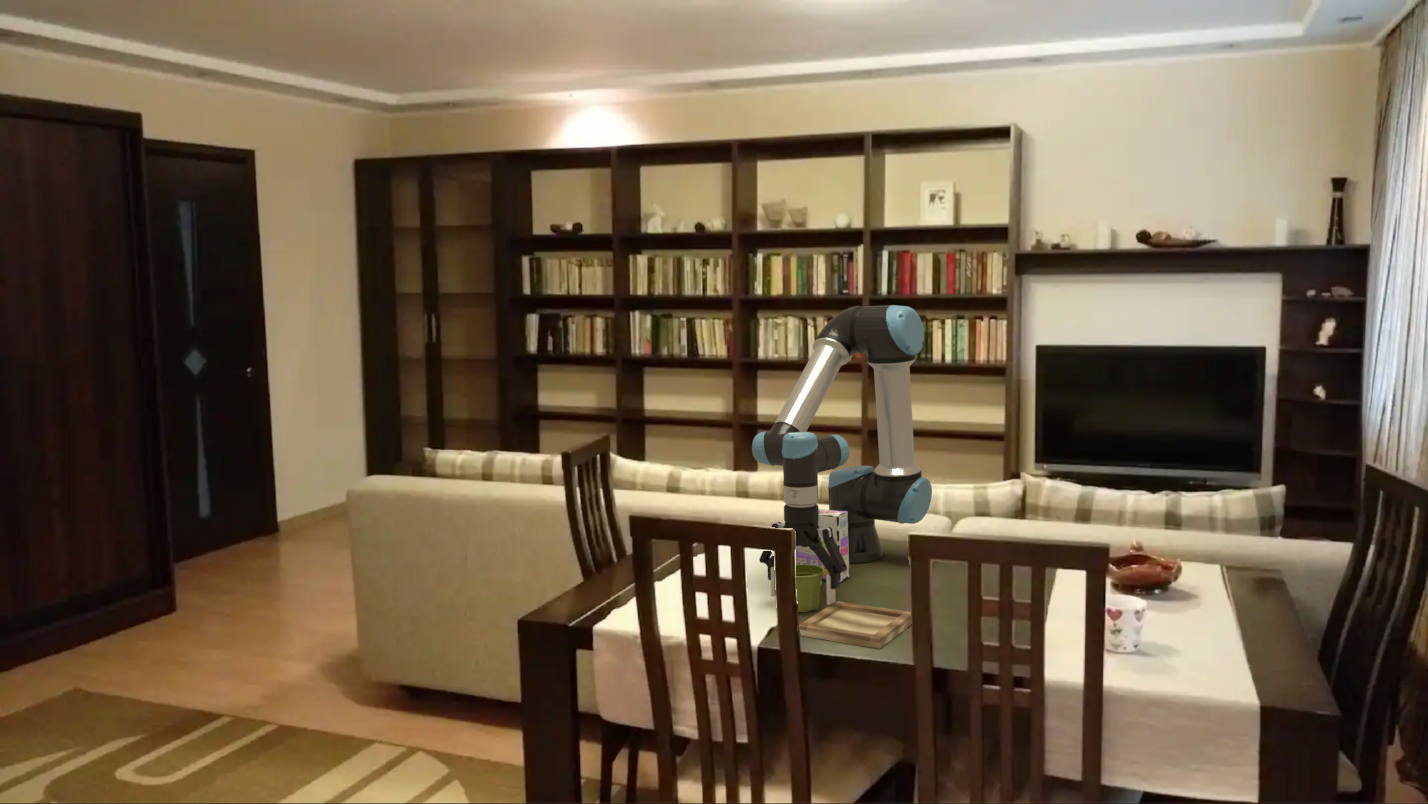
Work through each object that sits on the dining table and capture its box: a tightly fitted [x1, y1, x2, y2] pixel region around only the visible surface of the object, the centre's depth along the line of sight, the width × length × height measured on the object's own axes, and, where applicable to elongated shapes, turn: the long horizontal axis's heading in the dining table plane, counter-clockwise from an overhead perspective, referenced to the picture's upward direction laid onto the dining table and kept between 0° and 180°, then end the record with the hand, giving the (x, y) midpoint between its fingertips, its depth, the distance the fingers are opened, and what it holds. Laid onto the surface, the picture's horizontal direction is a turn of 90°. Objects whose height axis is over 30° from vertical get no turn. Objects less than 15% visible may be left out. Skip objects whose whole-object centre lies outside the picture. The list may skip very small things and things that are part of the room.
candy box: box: [796, 508, 850, 584], centre depth 255 cm, size 14×6×16 cm, turn 58°
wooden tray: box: [798, 600, 911, 650], centre depth 218 cm, size 18×18×2 cm
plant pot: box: [796, 564, 825, 613], centre depth 232 cm, size 9×9×9 cm
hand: (803, 599), depth 232 cm, fingers open, 13 cm apart
